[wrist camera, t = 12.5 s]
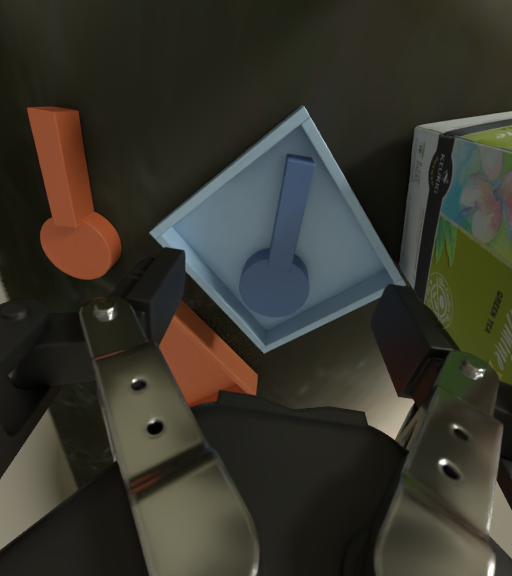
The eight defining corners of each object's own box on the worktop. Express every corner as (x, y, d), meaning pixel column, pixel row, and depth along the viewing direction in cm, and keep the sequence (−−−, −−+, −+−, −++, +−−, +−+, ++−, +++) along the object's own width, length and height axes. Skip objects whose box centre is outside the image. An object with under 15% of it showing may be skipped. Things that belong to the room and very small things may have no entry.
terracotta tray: (81, 341, 30) (66, 359, 28) (165, 282, 25) (154, 299, 23) (174, 412, 35) (167, 433, 33) (258, 374, 30) (256, 395, 28)
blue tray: (161, 220, 22) (148, 232, 20) (301, 105, 18) (304, 106, 16) (265, 334, 27) (263, 353, 25) (395, 267, 23) (406, 284, 21)
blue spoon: (258, 148, 19) (255, 154, 17) (340, 162, 19) (347, 169, 17) (238, 299, 25) (234, 316, 23) (300, 309, 25) (301, 327, 23)
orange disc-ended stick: (25, 101, 19) (-7, 101, 17) (107, 115, 19) (86, 117, 17) (63, 263, 25) (43, 277, 23) (124, 273, 25) (110, 288, 23)
